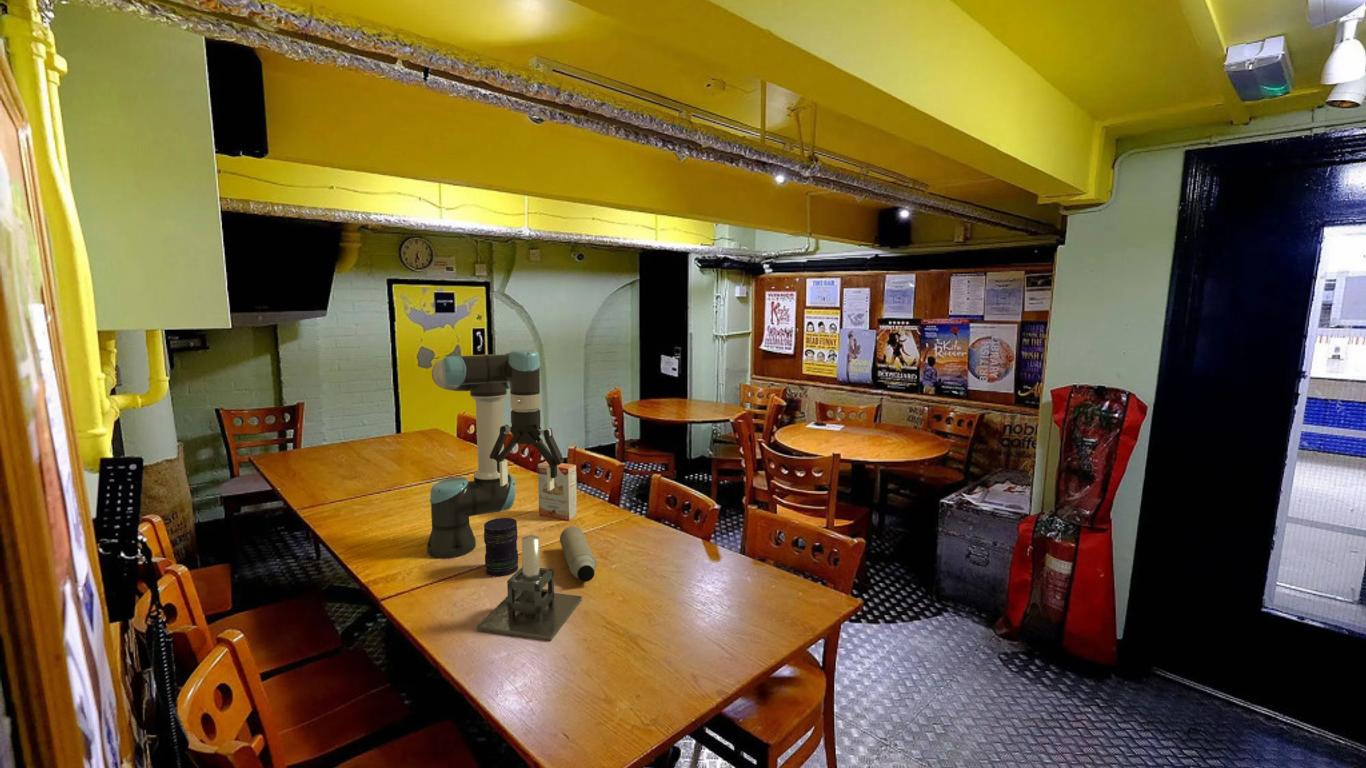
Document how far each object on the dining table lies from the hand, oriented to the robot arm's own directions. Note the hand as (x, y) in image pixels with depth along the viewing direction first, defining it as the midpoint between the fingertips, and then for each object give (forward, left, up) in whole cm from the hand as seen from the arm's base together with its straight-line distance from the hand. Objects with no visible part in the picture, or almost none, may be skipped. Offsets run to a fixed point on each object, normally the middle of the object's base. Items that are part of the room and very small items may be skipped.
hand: (527, 487), depth 153 cm
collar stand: (+3, -5, -33) cm, 34 cm away
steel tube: (+3, -5, -32) cm, 33 cm away
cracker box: (-20, +63, -33) cm, 74 cm away
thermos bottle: (-3, +36, -29) cm, 46 cm away
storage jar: (-18, +17, -33) cm, 41 cm away
